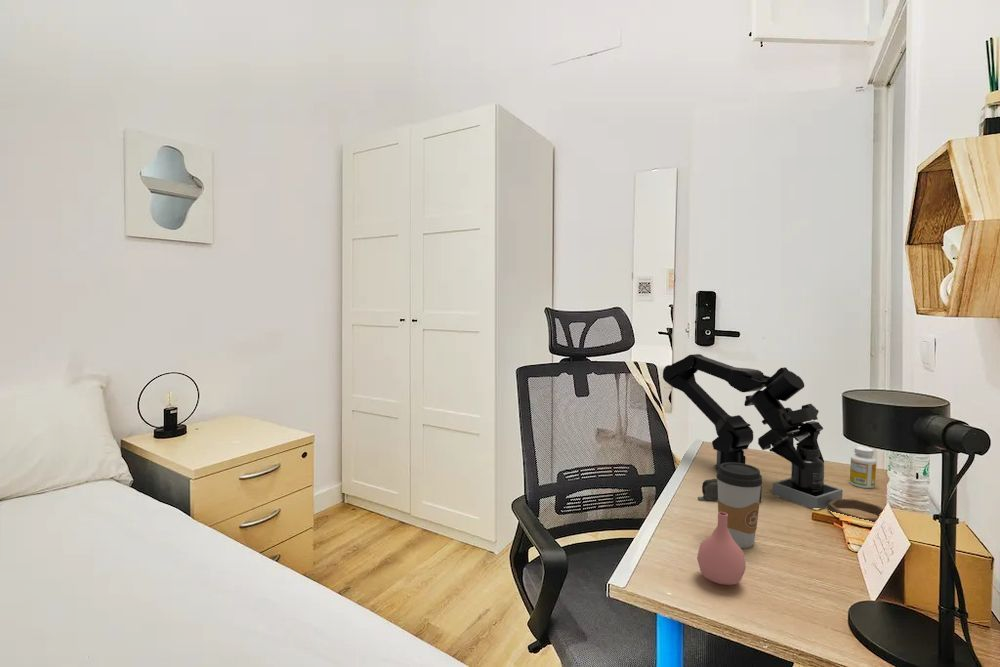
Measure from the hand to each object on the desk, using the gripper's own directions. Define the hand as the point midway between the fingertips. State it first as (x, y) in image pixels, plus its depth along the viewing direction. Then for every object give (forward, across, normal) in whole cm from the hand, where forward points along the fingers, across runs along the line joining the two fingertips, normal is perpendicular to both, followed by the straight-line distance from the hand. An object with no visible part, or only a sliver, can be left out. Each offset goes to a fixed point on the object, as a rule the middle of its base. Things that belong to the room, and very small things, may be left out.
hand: (813, 465), depth 119 cm
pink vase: (+15, -49, -3) cm, 52 cm away
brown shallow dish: (+13, 0, -1) cm, 13 cm away
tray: (+5, 0, +7) cm, 9 cm away
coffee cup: (+10, -34, +3) cm, 36 cm away
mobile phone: (0, -18, +13) cm, 22 cm away
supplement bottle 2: (+6, +22, +6) cm, 23 cm away
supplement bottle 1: (+5, 0, +7) cm, 8 cm away
